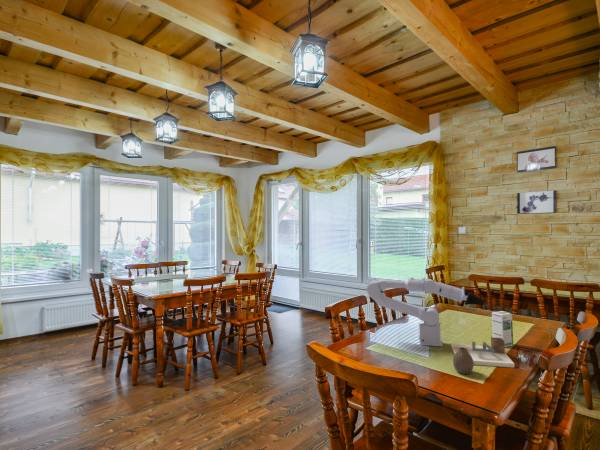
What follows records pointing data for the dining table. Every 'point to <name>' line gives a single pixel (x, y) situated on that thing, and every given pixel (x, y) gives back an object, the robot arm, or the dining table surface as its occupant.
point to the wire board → (486, 356)
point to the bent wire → (483, 348)
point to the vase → (463, 361)
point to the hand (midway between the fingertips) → (482, 301)
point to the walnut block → (498, 345)
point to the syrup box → (503, 327)
